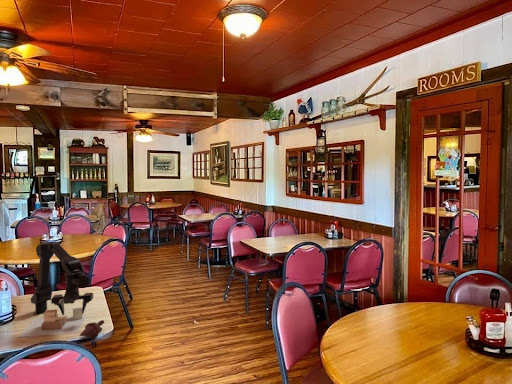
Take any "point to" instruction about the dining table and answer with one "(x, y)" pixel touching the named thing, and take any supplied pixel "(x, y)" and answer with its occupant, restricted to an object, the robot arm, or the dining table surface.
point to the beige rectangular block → (77, 312)
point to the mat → (36, 330)
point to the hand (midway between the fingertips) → (73, 314)
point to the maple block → (50, 315)
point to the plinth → (55, 324)
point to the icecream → (92, 329)
